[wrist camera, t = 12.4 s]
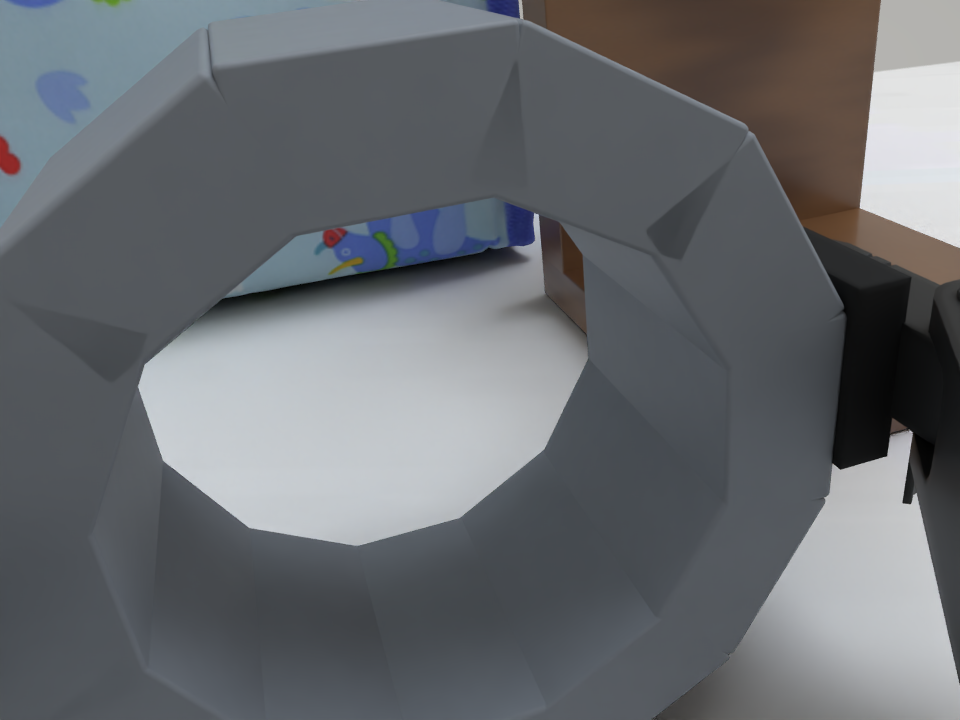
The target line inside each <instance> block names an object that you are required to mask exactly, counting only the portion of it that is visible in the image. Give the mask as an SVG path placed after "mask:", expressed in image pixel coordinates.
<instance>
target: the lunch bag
mask: <svg viewBox="0 0 960 720" xmlns="http://www.w3.org/2000/svg"><path fill="white" fill-rule="evenodd" d="M357 1H364V0H0V228H1V226H2V225H3V224H4V222H5V221H6V219H7V218H8V217H9V215H10V214H11V212H12V211H13V209H14V208H15V207H16V205H17V204H18V202H19V201H20V200H21V198H22V197H23V195H24V194H25V192H26V191H27V190H28V188H29V187H30V185H31V184H32V183H33V181H34V180H35V178H36V177H37V175H38V174H39V173H40V171H41V170H42V168H43V167H44V166H45V164H46V163H47V161H48V160H49V159H50V157H52V156H53V155H54V154H55V153H56V152H57V151H59V150H60V149H61V148H62V147H63V146H64V145H65V144H67V143H68V142H69V141H70V140H71V139H72V138H73V137H75V136H76V135H77V134H78V133H79V132H80V131H81V130H83V129H84V128H85V127H86V126H87V125H88V124H90V123H91V122H92V121H93V120H94V119H95V118H96V117H98V116H99V115H100V114H101V113H102V112H103V111H104V110H106V109H107V108H108V107H109V106H110V105H111V104H112V103H114V102H115V101H116V100H117V99H118V98H119V97H121V96H122V95H123V94H124V93H125V92H126V91H127V90H129V89H130V88H131V87H132V86H133V85H134V84H135V83H137V82H138V81H139V80H140V79H141V78H142V77H144V76H145V75H146V74H147V73H148V72H149V71H150V70H152V69H153V68H154V67H155V66H156V65H157V64H158V63H160V62H161V61H162V60H163V59H164V58H165V57H166V56H168V55H169V54H170V53H171V52H172V51H173V50H175V49H176V48H177V47H178V46H179V45H180V44H181V43H183V42H184V41H185V40H186V39H187V38H188V37H189V36H191V35H192V34H193V33H194V32H195V31H196V30H198V29H200V28H203V27H204V28H205V29H207V30H208V24H209V23H211V22H215V21H222V20H229V19H236V18H243V17H250V16H258V15H265V14H272V13H279V12H286V11H293V10H300V9H307V8H314V7H321V6H328V5H335V4H343V3H350V2H357ZM440 1H445V2H449V3H453V4H458V5H462V6H467V7H471V8H475V9H480V10H484V11H488V12H493V13H497V14H501V15H506V16H510V17H514V18H519V19H520V15H519V14H520V13H519V2H518V0H440ZM533 218H534V212H531V211H528V210H526V209H523V208H520V207H517V206H515V205H512V204H509V203H507V202H504V201H501V200H499V199H496V198H489V199H484V200H479V201H474V202H468V203H463V204H458V205H453V206H448V207H443V208H438V209H433V210H427V211H422V212H417V213H412V214H407V215H402V216H397V217H392V218H386V219H381V220H376V221H371V222H366V223H361V224H356V225H351V226H346V227H340V228H335V229H330V230H325V231H320V232H315V233H310V234H305V235H299V236H296V237H295V238H294V239H292V240H291V241H290V242H289V243H288V244H286V245H285V246H284V247H283V248H282V249H281V250H279V251H278V252H277V253H276V254H275V255H273V256H272V257H271V258H270V259H269V260H268V261H266V262H265V263H264V264H263V265H262V266H260V267H259V268H258V269H257V270H256V271H255V272H253V273H252V274H251V275H250V276H249V277H247V278H246V279H245V280H244V281H243V282H242V283H240V284H239V285H238V286H237V287H236V288H234V289H233V290H232V291H231V292H230V293H229V294H227V295H226V296H225V297H224V298H228V297H236V296H241V295H245V294H249V293H254V292H262V291H268V290H273V289H278V288H283V287H287V286H293V285H298V284H304V283H309V282H315V281H320V280H326V279H331V278H337V277H342V276H348V275H354V274H360V273H366V272H372V271H378V270H384V269H390V268H396V267H402V266H407V265H413V264H419V263H425V262H431V261H436V260H442V259H448V258H454V257H460V256H465V255H471V254H475V253H480V252H483V251H485V250H486V249H487V248H489V247H490V248H492V249H500V248H503V247H510V246H525V245H529V244H532V243H533V242H534V241H535V235H534V227H533Z"/></svg>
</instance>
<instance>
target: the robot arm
mask: <svg viewBox="0 0 960 720" xmlns="http://www.w3.org/2000/svg"><path fill="white" fill-rule="evenodd" d="M803 228H804V230H805V232H806V234H807V236H808V238H809V240H810V242H811V244H812V245H813V247H814V249H815V251H816V253H817V255H818V257H819V259H820V261H821V263H822V265H823V267H824V268H825V270H826V272H827V274H828V276H829V278H830V280H831V282H832V284H833V286H834V288H835V290H836V291H837V293H838V295H839V297H840V299H841V301H842V303H843V305H844V309H843V312H844V313H845V314H846V316H847V322H846V332H845V342H844V352H843V362H842V372H841V382H840V392H839V402H838V412H837V421H836V431H835V441H834V451H833V461H832V463H833V464H834V465H835V466H837V467H838V468H839V469H840V470H841V469H844V468H848V467H851V466H855V465H858V464H862V463H865V462H869V461H872V460H875V459H879V458H882V457H886V456H887V453H888V446H889V438H890V431H891V424H892V418H893V419H895V420H896V421H898V422H899V423H901V424H902V425H904V426H905V427H907V428H908V429H910V430H911V431H912V432H913V437H912V443H911V450H910V456H909V463H908V470H907V476H906V483H905V489H904V496H903V503H905V504H911V502H912V498H913V495H914V494H915V493H917V496H918V501H919V505H920V509H921V514H922V518H923V523H924V527H925V532H926V536H927V541H928V545H929V550H930V554H931V559H932V563H933V567H934V572H935V576H936V581H937V585H938V590H939V594H940V599H941V603H942V608H943V612H944V616H945V621H946V625H947V630H948V634H949V639H950V643H951V648H952V652H953V657H954V661H955V666H956V670H957V674H958V679H959V683H960V279H958V280H954V281H950V282H946V283H943V284H942V285H939V284H937V283H935V282H933V281H931V280H928V279H926V278H924V277H922V276H920V275H918V274H915V273H913V272H911V271H909V270H907V269H905V268H902V267H900V266H898V265H896V264H895V265H891V262H889V261H887V260H885V259H883V258H881V257H878V256H872V253H870V252H868V251H865V250H863V249H861V248H859V247H857V246H855V245H852V244H850V243H847V242H842V241H838V240H833V239H829V238H827V237H825V236H823V235H821V234H818V233H816V232H814V231H812V230H810V229H808V228H806V227H804V226H803Z"/></svg>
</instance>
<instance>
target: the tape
mask: <svg viewBox="0 0 960 720" xmlns="http://www.w3.org/2000/svg"><path fill="white" fill-rule="evenodd" d="M748 129H749V128H748V127H747V126H746V124H744V123H742V122H740V121H738V120H736V119H734V118H732V117H730V116H728V115H726V114H723V113H721V112H719V111H717V110H715V109H713V108H711V107H709V106H707V105H705V104H702V103H700V102H698V101H696V100H694V99H692V98H690V97H688V96H686V95H684V94H681V93H679V92H677V91H675V90H673V89H671V88H669V87H667V86H665V85H663V84H660V83H658V82H656V81H654V80H652V79H650V78H648V77H646V76H644V75H642V74H639V73H637V72H635V71H633V70H631V69H629V68H627V67H625V66H623V65H621V64H619V63H616V62H614V61H612V60H610V59H608V58H606V57H604V56H602V55H600V54H598V53H595V52H593V51H591V50H589V49H587V48H585V47H583V46H581V45H579V44H577V43H574V42H572V41H570V40H568V39H566V38H564V37H562V36H560V35H558V34H556V33H553V32H551V31H549V30H547V29H545V28H543V27H541V26H539V25H537V24H535V23H532V22H530V21H527V20H523V19H519V18H514V17H510V16H506V15H501V14H497V13H493V12H488V11H484V10H480V9H475V8H471V7H467V6H462V5H458V4H453V3H449V2H445V1H440V0H364V1H357V2H350V3H343V4H335V5H328V6H321V7H314V8H307V9H300V10H293V11H286V12H279V13H272V14H265V15H258V16H250V17H243V18H236V19H229V20H222V21H215V22H211V23H209V24H208V30H207V29H205V28H204V27H203V28H200V29H198V30H196V31H195V32H194V33H193V34H192V35H191V36H189V37H188V38H187V39H186V40H185V41H184V42H183V43H181V44H180V45H179V46H178V47H177V48H176V49H175V50H173V51H172V52H171V53H170V54H169V55H168V56H166V57H165V58H164V59H163V60H162V61H161V62H160V63H158V64H157V65H156V66H155V67H154V68H153V69H152V70H150V71H149V72H148V73H147V74H146V75H145V76H144V77H142V78H141V79H140V80H139V81H138V82H137V83H135V84H134V85H133V86H132V87H131V88H130V89H129V90H127V91H126V92H125V93H124V94H123V95H122V96H121V97H119V98H118V99H117V100H116V101H115V102H114V103H112V104H111V105H110V106H109V107H108V108H107V109H106V110H104V111H103V112H102V113H101V114H100V115H99V116H98V117H96V118H95V119H94V120H93V121H92V122H91V123H90V124H88V125H87V126H86V127H85V128H84V129H83V130H81V131H80V132H79V133H78V134H77V135H76V136H75V137H73V138H72V139H71V140H70V141H69V142H68V143H67V144H65V145H64V146H63V147H62V148H61V149H60V150H59V151H57V152H56V153H55V154H54V155H53V156H52V157H50V159H49V160H48V161H47V163H46V164H45V166H44V167H43V168H42V170H41V171H40V173H39V174H38V175H37V177H36V178H35V180H34V181H33V183H32V184H31V185H30V187H29V188H28V190H27V191H26V192H25V194H24V195H23V197H22V198H21V200H20V201H19V202H18V204H17V205H16V207H15V208H14V209H13V211H12V212H11V214H10V215H9V217H8V218H7V219H6V221H5V222H4V224H3V225H2V226H1V228H0V720H652V719H653V718H654V717H656V716H657V715H658V714H659V713H661V712H662V711H663V710H665V709H666V708H667V707H668V706H670V705H671V704H672V703H674V702H675V701H676V700H677V699H679V698H680V697H681V696H682V695H684V694H685V693H686V692H688V691H689V690H690V689H691V688H693V687H694V686H695V685H697V684H698V683H699V682H700V681H702V680H703V679H704V678H706V677H707V676H708V675H709V674H711V673H712V672H713V671H714V670H716V669H717V668H718V667H720V666H721V665H722V664H723V663H725V662H726V661H727V660H728V659H729V654H730V653H732V652H734V651H735V649H736V648H737V646H738V644H739V643H740V641H741V640H742V638H743V636H744V635H745V633H746V631H747V630H748V628H749V626H750V625H751V623H752V622H753V620H754V618H755V617H756V615H757V613H758V612H759V610H760V608H761V607H762V605H763V604H764V602H765V600H766V599H767V597H768V595H769V594H770V592H771V590H772V589H773V587H774V586H775V584H776V582H777V581H778V579H779V577H780V576H781V574H782V572H783V571H784V569H785V568H786V566H787V564H788V563H789V561H790V559H791V558H792V556H793V555H794V553H795V551H796V550H797V548H798V546H799V545H800V543H801V541H802V540H803V538H804V537H805V535H806V533H807V532H808V530H809V528H810V527H811V525H812V523H813V522H814V520H815V519H816V517H817V515H818V514H819V512H820V510H821V509H822V507H823V505H824V504H825V499H824V497H826V496H828V494H829V491H830V481H831V471H832V461H833V451H834V441H835V431H836V421H837V412H838V402H839V392H840V382H841V372H842V362H843V352H844V342H845V332H846V322H847V316H846V314H845V313H844V312H843V309H844V305H843V303H842V301H841V299H840V297H839V295H838V293H837V291H836V290H835V288H834V286H833V284H832V282H831V280H830V278H829V276H828V274H827V272H826V270H825V268H824V267H823V265H822V263H821V261H820V259H819V257H818V255H817V253H816V251H815V249H814V247H813V245H812V244H811V242H810V240H809V238H808V236H807V234H806V232H805V230H804V228H803V226H802V224H801V223H800V221H799V219H798V217H797V215H796V213H795V211H794V209H793V207H792V205H791V203H790V201H789V199H788V198H787V196H786V194H785V192H784V190H783V188H782V186H781V184H780V182H779V180H778V178H777V176H776V175H775V173H774V171H773V169H772V167H771V165H770V163H769V161H768V159H767V157H766V155H765V154H764V152H763V150H762V148H761V146H760V144H759V142H758V140H757V138H756V136H755V134H753V133H752V132H750V131H748ZM489 198H496V199H499V200H501V201H504V202H507V203H509V204H512V205H515V206H517V207H520V208H523V209H526V210H528V211H531V212H534V213H536V214H539V215H542V216H544V217H547V218H550V219H553V220H555V221H558V222H560V224H561V225H562V226H563V228H564V229H565V231H566V232H567V233H568V235H569V236H570V238H571V239H572V240H573V242H574V243H575V245H576V246H577V247H578V249H579V250H580V252H581V253H582V254H583V271H584V289H585V307H586V324H587V342H588V360H587V362H586V364H585V366H584V369H583V371H582V373H581V375H580V377H579V379H578V381H577V383H576V385H575V387H574V389H573V391H572V393H571V396H570V398H569V400H568V402H567V404H566V406H565V408H564V410H563V412H562V414H561V416H560V418H559V420H558V423H557V425H556V427H555V429H554V431H553V433H552V435H551V437H550V439H549V441H548V443H547V445H546V447H545V450H543V451H542V452H541V453H540V454H539V455H537V456H536V457H535V458H534V459H532V460H531V461H530V462H529V463H527V464H526V465H525V466H524V467H522V468H521V469H520V470H519V471H518V472H516V473H515V474H514V475H513V476H511V477H510V478H509V479H508V480H506V481H505V482H504V483H503V484H501V485H500V486H499V487H498V488H497V489H495V490H494V491H493V492H492V493H490V494H489V495H488V496H487V497H485V498H484V499H483V500H482V501H480V502H479V503H478V504H477V505H476V506H474V507H473V508H472V509H471V510H469V511H468V512H467V513H466V514H464V515H463V516H462V517H461V518H459V519H455V520H452V521H448V522H444V523H441V524H437V525H433V526H430V527H426V528H422V529H419V530H415V531H412V532H408V533H404V534H401V535H397V536H393V537H390V538H386V539H382V540H379V541H375V542H371V543H368V544H364V545H360V546H352V545H346V544H340V543H334V542H328V541H322V540H317V539H311V538H305V537H299V536H293V535H287V534H281V533H275V532H269V531H263V530H257V529H251V528H248V527H247V526H246V525H244V524H243V523H242V522H241V521H239V520H238V519H237V518H235V517H234V516H233V515H232V514H230V513H229V512H228V511H226V510H225V509H224V508H223V507H221V506H220V505H219V504H217V503H216V502H215V501H214V500H212V499H211V498H210V497H208V496H207V495H206V494H205V493H203V492H202V491H201V490H200V489H198V488H197V487H196V486H194V485H193V484H192V483H191V482H189V481H188V480H187V479H185V478H184V477H183V476H182V475H180V474H179V473H178V472H176V471H175V470H174V469H173V468H171V467H170V466H169V465H167V464H166V463H165V462H164V461H163V460H162V457H161V454H160V451H159V448H158V445H157V442H156V439H155V436H154V433H153V430H152V427H151V424H150V421H149V418H148V415H147V413H146V410H145V407H144V404H143V401H142V398H141V395H140V392H139V389H138V384H139V381H140V378H141V374H142V371H143V368H144V365H145V364H146V363H147V362H148V361H149V360H150V359H152V358H153V357H154V356H155V355H156V354H158V353H159V352H160V351H161V350H162V349H163V348H165V347H166V346H167V345H168V344H169V343H171V342H172V341H173V340H174V339H175V338H176V337H178V336H179V335H180V334H181V333H182V332H184V331H185V330H186V329H187V328H188V327H189V326H191V325H192V324H193V323H194V322H195V321H197V320H198V319H199V318H200V317H201V316H202V315H204V314H205V313H206V312H207V311H208V310H210V309H211V308H212V307H213V306H214V305H215V304H217V303H218V302H219V301H220V300H221V299H223V298H224V297H225V296H226V295H227V294H229V293H230V292H231V291H232V290H233V289H234V288H236V287H237V286H238V285H239V284H240V283H242V282H243V281H244V280H245V279H246V278H247V277H249V276H250V275H251V274H252V273H253V272H255V271H256V270H257V269H258V268H259V267H260V266H262V265H263V264H264V263H265V262H266V261H268V260H269V259H270V258H271V257H272V256H273V255H275V254H276V253H277V252H278V251H279V250H281V249H282V248H283V247H284V246H285V245H286V244H288V243H289V242H290V241H291V240H292V239H294V238H295V237H296V236H299V235H305V234H310V233H315V232H320V231H325V230H330V229H335V228H340V227H346V226H351V225H356V224H361V223H366V222H371V221H376V220H381V219H386V218H392V217H397V216H402V215H407V214H412V213H417V212H422V211H427V210H433V209H438V208H443V207H448V206H453V205H458V204H463V203H468V202H474V201H479V200H484V199H489ZM728 653H729V654H728Z"/></svg>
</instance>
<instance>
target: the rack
mask: <svg viewBox="0 0 960 720" xmlns="http://www.w3.org/2000/svg"><path fill="white" fill-rule="evenodd" d="M880 3H881V0H522V5H523V18H524V20H527V21H530V22H532V23H535V24H537V25H539V26H541V27H543V28H545V29H547V30H549V31H551V32H553V33H556V34H558V35H560V36H562V37H564V38H566V39H568V40H570V41H572V42H574V43H577V44H579V45H581V46H583V47H585V48H587V49H589V50H591V51H593V52H595V53H598V54H600V55H602V56H604V57H606V58H608V59H610V60H612V61H614V62H616V63H619V64H621V65H623V66H625V67H627V68H629V69H631V70H633V71H635V72H637V73H639V74H642V75H644V76H646V77H648V78H650V79H652V80H654V81H656V82H658V83H660V84H663V85H665V86H667V87H669V88H671V89H673V90H675V91H677V92H679V93H681V94H684V95H686V96H688V97H690V98H692V99H694V100H696V101H698V102H700V103H702V104H705V105H707V106H709V107H711V108H713V109H715V110H717V111H719V112H721V113H723V114H726V115H728V116H730V117H732V118H734V119H736V120H738V121H740V122H742V123H744V124H746V126H747V127H748V128H749V129H748V131H750V132H752V133H753V134H755V136H756V138H757V140H758V142H759V144H760V146H761V148H762V150H763V152H764V154H765V155H766V157H767V159H768V161H769V163H770V165H771V167H772V169H773V171H774V173H775V175H776V176H777V178H778V180H779V182H780V184H781V186H782V188H783V190H784V192H785V194H786V196H787V198H788V199H789V201H790V203H791V205H792V207H793V209H794V211H795V213H796V215H797V217H798V219H799V221H800V223H801V224H802V226H804V227H806V228H808V229H810V230H812V231H814V232H816V233H818V234H821V235H823V236H825V237H827V238H829V239H833V240H838V241H842V242H847V243H850V244H852V245H855V246H857V247H859V248H861V249H863V250H865V251H868V252H870V253H872V256H878V257H881V258H883V259H885V260H887V261H889V262H891V265H895V264H896V265H898V266H900V267H902V268H905V269H907V270H909V271H911V272H913V273H915V274H918V275H920V276H922V277H924V278H926V279H928V280H931V281H933V282H935V283H937V284H939V285H942V284H943V283H946V282H950V281H954V280H958V279H960V248H958V247H955V246H953V245H950V244H948V243H945V242H943V241H940V240H938V239H935V238H933V237H930V236H928V235H925V234H923V233H920V232H918V231H915V230H913V229H910V228H908V227H905V226H903V225H900V224H898V223H895V222H893V221H890V220H888V219H885V218H883V217H880V216H878V215H875V214H873V213H870V212H868V211H865V210H863V209H860V198H861V188H862V179H863V169H864V159H865V149H866V140H867V130H868V120H869V110H870V101H871V91H872V81H873V71H874V62H875V51H876V41H877V32H878V22H879V11H880ZM539 221H540V234H541V247H542V260H543V272H544V285H545V293H546V294H547V295H548V296H549V297H550V298H551V299H552V300H553V301H554V302H555V303H556V304H557V305H558V306H559V307H560V308H561V309H562V310H563V311H564V312H565V313H566V314H567V315H568V316H569V317H570V318H571V319H572V320H573V321H574V322H575V323H576V324H577V325H578V326H579V327H580V328H581V329H582V330H583V331H584V332H585V333H586V334H587V324H586V307H585V289H584V271H583V254H582V253H581V252H580V250H579V249H578V247H577V246H576V245H575V243H574V242H573V240H572V239H571V238H570V236H569V235H568V233H567V232H566V231H565V229H564V228H563V226H562V225H561V224H560V222H558V221H555V220H553V219H550V218H547V217H544V216H542V215H539ZM904 429H907V427H905V426H904V425H902V424H901V423H899V422H898V421H896V420H895V419H893V418H892V424H891V431H890V433H893V432H896V431H900V430H904Z"/></svg>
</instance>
